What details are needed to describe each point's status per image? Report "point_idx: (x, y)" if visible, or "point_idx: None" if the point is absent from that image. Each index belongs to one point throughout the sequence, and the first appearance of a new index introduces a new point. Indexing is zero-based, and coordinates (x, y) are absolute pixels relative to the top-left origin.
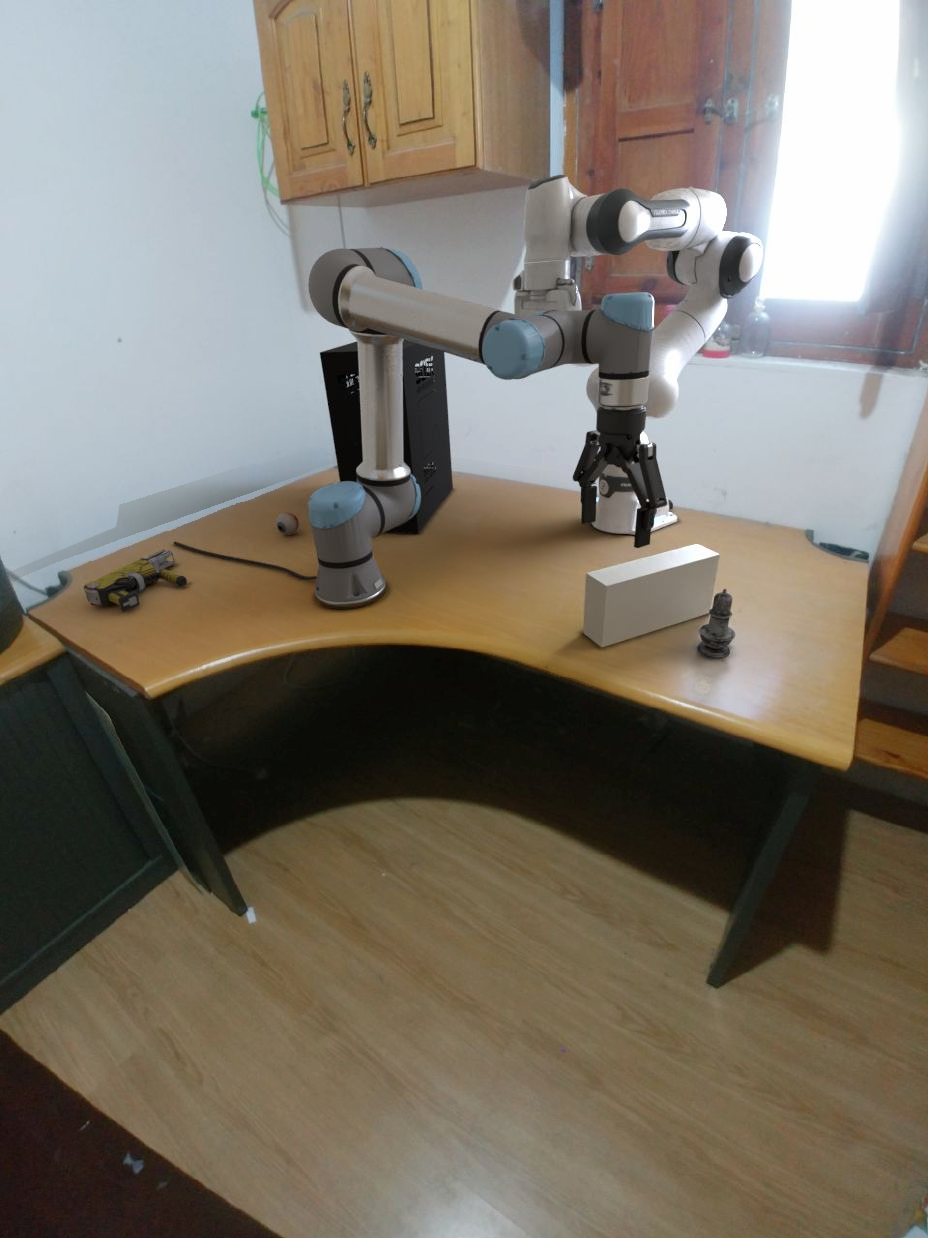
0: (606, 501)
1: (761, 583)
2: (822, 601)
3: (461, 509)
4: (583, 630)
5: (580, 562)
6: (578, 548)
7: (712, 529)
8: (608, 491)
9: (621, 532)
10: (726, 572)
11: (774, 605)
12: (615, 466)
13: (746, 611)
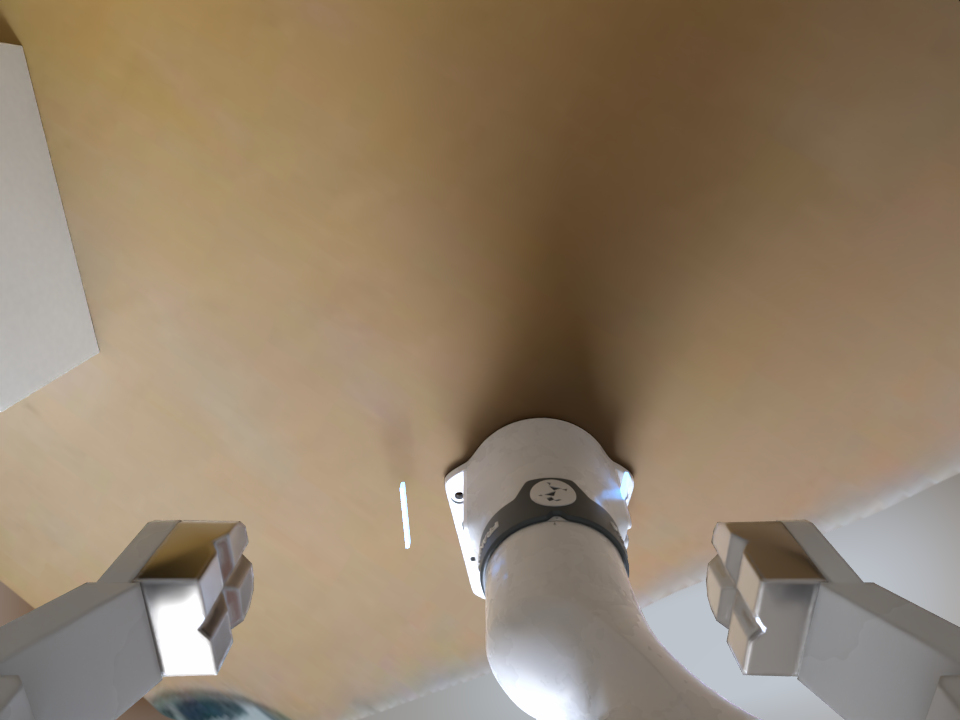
0: (533, 473)
1: (124, 517)
2: (25, 548)
3: (953, 154)
4: (14, 44)
5: (378, 264)
6: (458, 309)
7: (397, 615)
8: (529, 490)
9: (478, 449)
10: (193, 499)
11: (33, 473)
12: (523, 551)
13: (24, 416)
